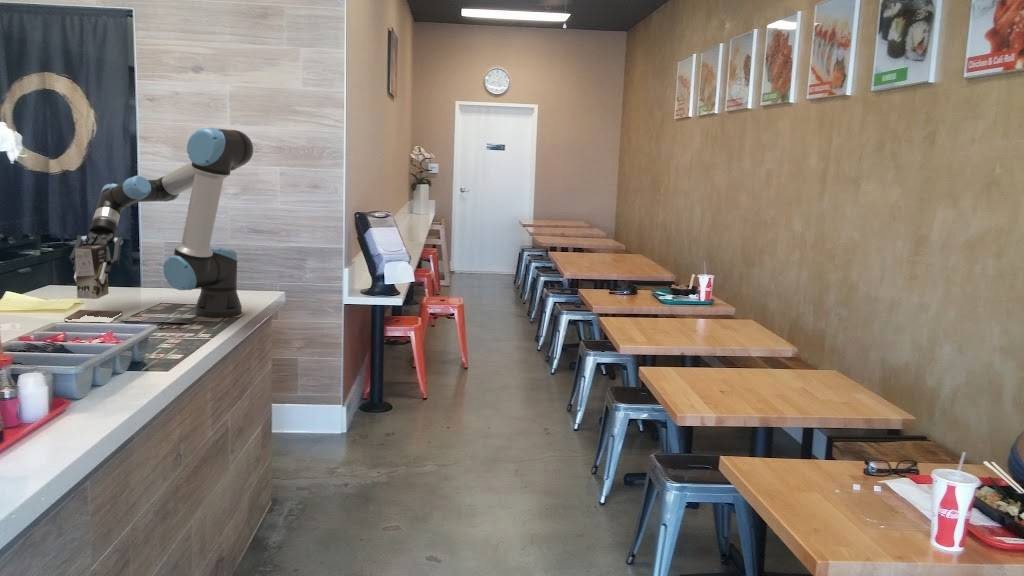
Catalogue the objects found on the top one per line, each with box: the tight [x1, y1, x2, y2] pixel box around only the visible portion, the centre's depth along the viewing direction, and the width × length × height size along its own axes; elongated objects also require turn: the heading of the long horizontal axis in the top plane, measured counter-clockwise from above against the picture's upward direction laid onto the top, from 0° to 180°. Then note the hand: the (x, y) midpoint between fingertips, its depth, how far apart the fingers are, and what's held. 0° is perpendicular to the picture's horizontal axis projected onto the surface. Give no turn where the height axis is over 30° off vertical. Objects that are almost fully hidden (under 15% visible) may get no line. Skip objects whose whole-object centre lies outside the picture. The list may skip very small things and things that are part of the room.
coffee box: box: [75, 244, 109, 300], centre depth 242 cm, size 9×6×16 cm
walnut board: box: [64, 309, 123, 320], centre depth 245 cm, size 13×13×1 cm
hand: (88, 280), depth 240 cm, fingers closed on coffee box, 7 cm apart
